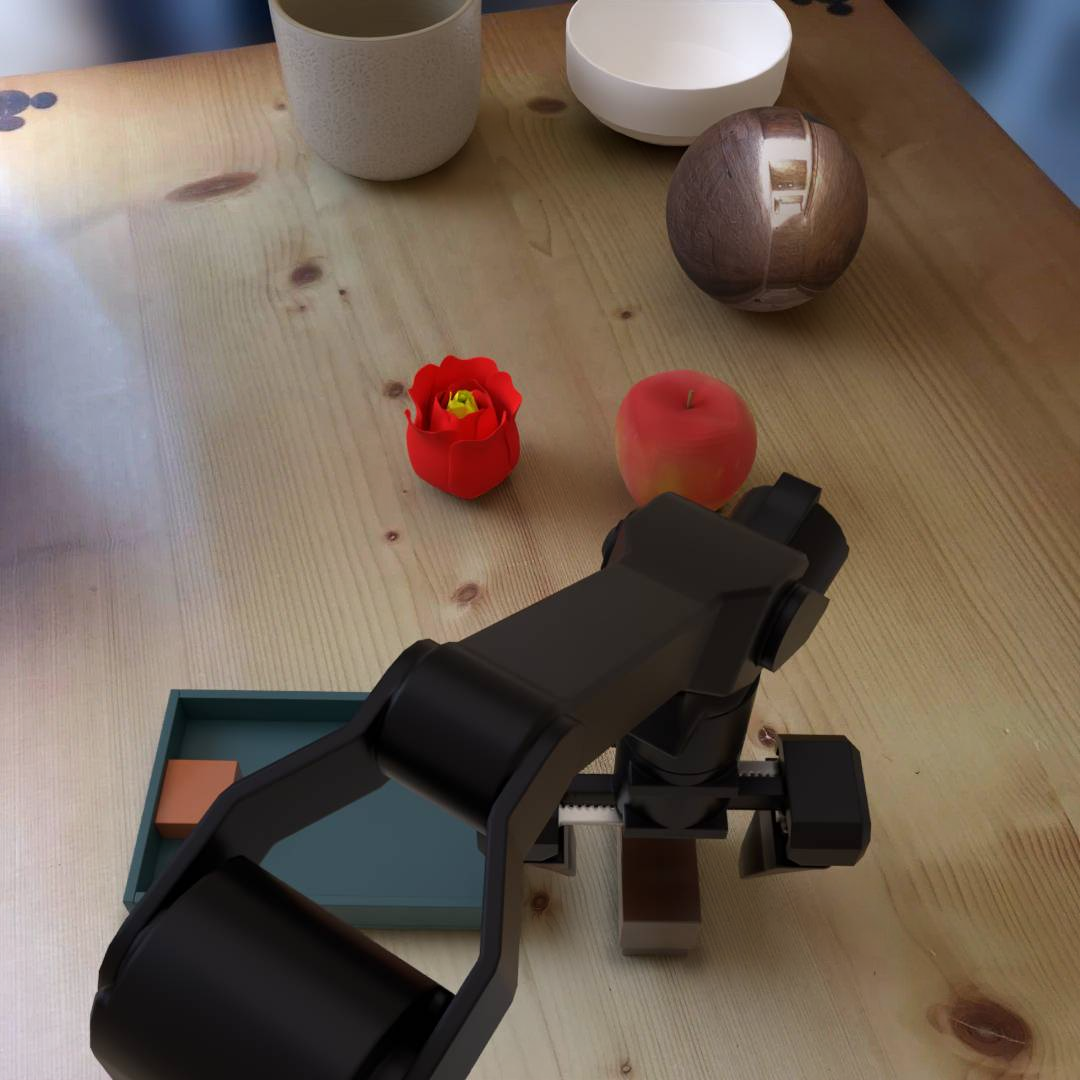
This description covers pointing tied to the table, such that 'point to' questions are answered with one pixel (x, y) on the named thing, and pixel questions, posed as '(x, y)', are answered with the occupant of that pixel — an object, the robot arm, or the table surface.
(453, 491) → the flower
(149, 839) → the tray
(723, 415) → the apple
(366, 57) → the planter
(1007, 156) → the table surface
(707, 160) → the wooden sphere
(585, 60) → the bowl
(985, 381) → the table surface
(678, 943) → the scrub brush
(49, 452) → the table surface
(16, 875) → the table surface
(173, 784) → the clay crumb
